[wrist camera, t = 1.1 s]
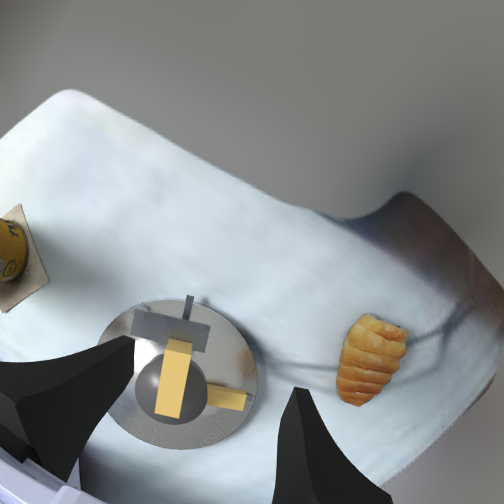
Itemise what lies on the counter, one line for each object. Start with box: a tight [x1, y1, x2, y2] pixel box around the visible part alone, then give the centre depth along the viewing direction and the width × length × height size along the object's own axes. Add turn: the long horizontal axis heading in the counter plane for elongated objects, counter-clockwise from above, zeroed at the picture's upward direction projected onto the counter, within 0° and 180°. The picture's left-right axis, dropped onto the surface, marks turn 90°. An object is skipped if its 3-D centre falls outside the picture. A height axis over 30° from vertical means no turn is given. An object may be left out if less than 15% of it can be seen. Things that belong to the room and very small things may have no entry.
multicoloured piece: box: [135, 338, 247, 425], centre depth 22 cm, size 8×9×5 cm
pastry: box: [336, 313, 408, 407], centre depth 27 cm, size 9×7×4 cm
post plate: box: [97, 295, 258, 450], centre depth 24 cm, size 16×15×3 cm
